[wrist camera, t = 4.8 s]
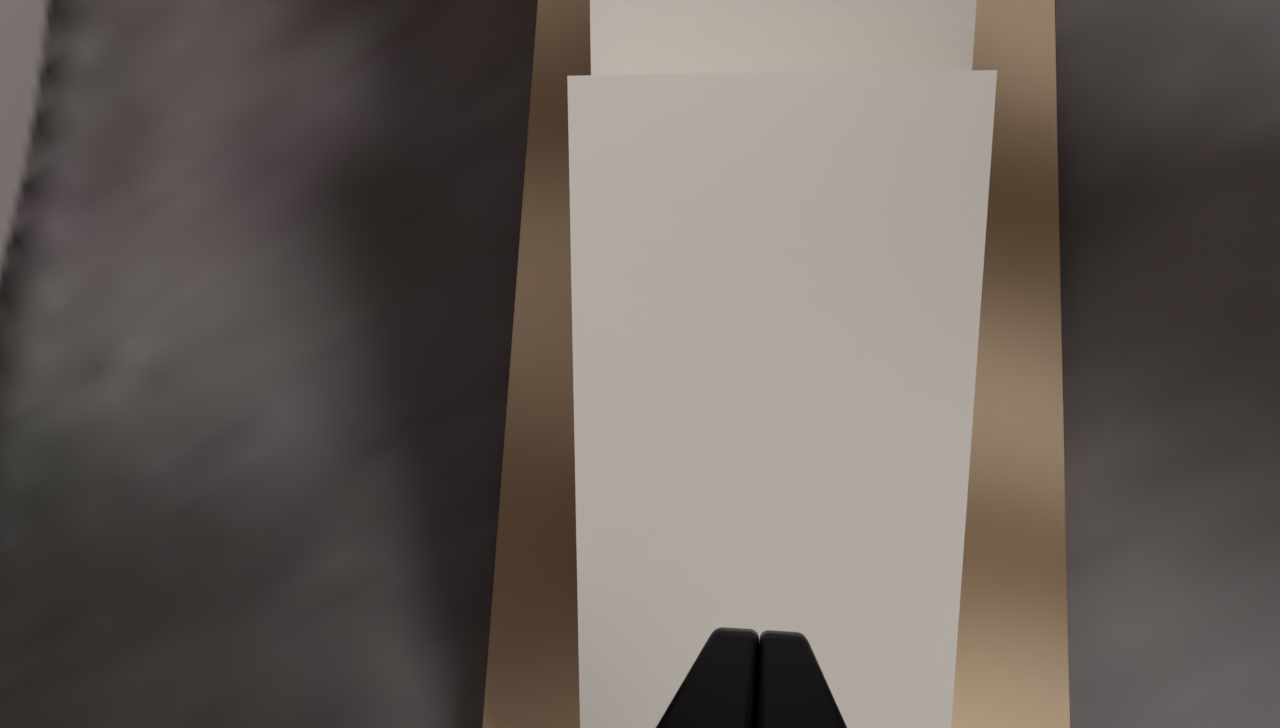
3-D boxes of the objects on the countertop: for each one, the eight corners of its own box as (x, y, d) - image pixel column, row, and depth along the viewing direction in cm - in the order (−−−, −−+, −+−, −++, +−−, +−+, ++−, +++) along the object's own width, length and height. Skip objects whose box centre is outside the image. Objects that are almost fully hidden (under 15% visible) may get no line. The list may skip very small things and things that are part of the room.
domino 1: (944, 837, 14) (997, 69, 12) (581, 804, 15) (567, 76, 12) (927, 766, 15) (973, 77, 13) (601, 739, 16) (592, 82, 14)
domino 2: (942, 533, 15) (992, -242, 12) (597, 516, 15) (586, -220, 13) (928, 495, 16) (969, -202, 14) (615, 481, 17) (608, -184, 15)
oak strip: (1067, 1082, 15) (1076, 1099, 14) (469, 1008, 16) (460, 1023, 16) (1036, -518, 20) (1042, -546, 19) (580, -477, 21) (576, -501, 21)
